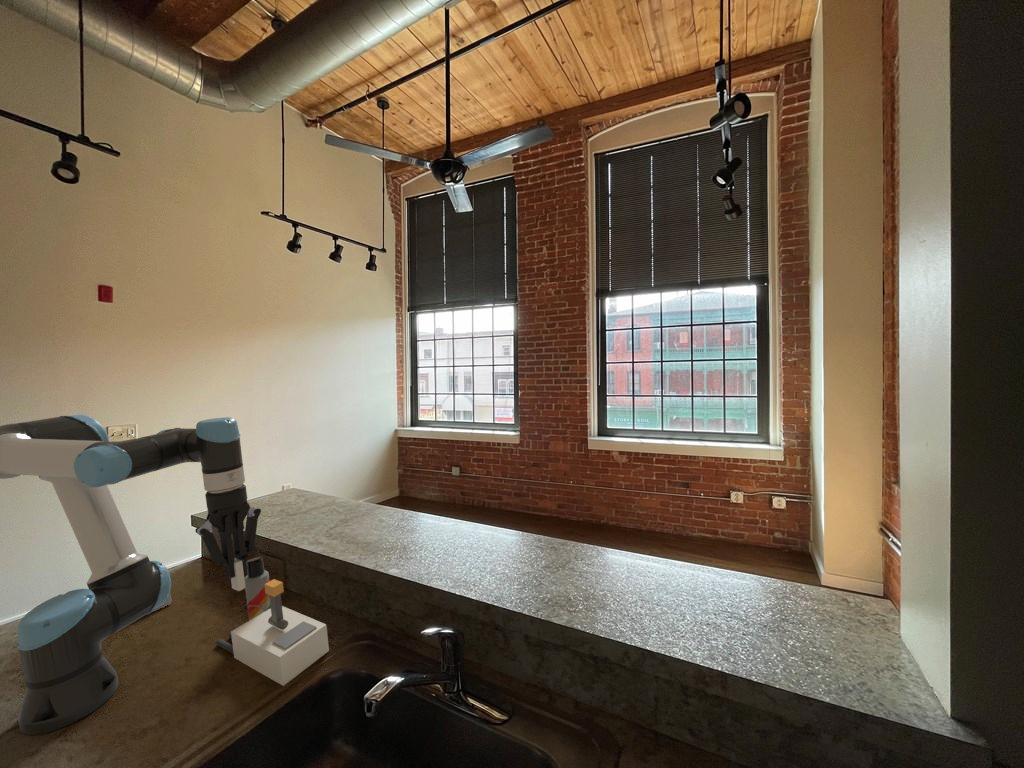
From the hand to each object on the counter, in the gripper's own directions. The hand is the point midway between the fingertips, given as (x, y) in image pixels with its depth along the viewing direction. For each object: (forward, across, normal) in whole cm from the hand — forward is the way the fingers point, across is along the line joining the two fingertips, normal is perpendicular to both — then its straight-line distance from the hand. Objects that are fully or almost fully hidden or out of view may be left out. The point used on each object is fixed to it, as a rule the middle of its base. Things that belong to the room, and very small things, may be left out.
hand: (238, 588), depth 96 cm
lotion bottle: (+22, +12, +16) cm, 30 cm away
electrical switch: (+22, +2, +56) cm, 61 cm away
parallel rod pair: (+22, +4, +15) cm, 27 cm away
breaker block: (+22, +8, 0) cm, 23 cm away
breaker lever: (+14, +8, 0) cm, 16 cm away
